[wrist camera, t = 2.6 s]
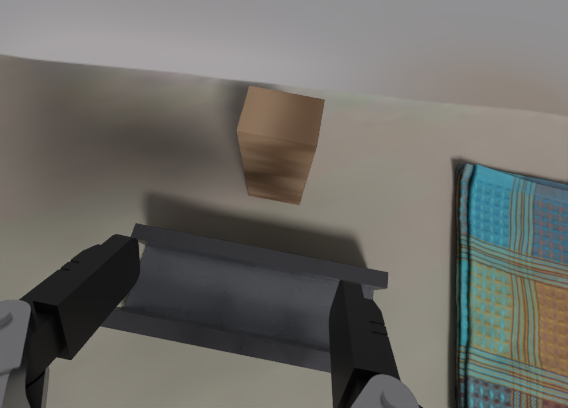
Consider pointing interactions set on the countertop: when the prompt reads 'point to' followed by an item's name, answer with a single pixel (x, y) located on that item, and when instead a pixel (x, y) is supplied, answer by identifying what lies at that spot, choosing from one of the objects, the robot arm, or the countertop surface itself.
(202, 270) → the floor track
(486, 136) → the countertop surface
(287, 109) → the tan wooden pillar block
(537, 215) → the dish towel
